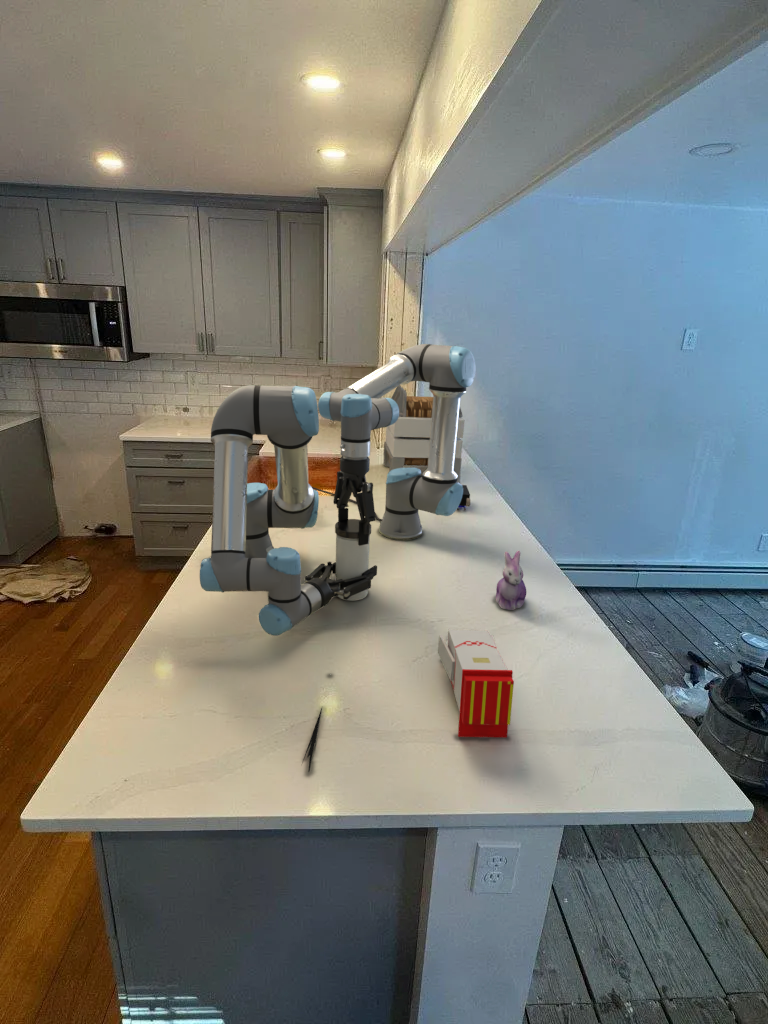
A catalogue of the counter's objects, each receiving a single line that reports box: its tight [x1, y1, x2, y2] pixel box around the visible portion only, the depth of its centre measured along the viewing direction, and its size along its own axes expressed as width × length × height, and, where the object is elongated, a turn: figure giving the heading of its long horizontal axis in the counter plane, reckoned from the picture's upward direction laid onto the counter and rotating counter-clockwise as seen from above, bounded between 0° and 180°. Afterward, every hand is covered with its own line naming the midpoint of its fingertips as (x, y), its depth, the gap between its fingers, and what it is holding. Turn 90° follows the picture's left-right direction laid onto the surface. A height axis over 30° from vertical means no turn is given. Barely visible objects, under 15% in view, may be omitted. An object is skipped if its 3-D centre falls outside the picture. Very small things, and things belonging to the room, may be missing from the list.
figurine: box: [495, 550, 527, 611], centre depth 153 cm, size 9×10×15 cm
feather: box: [301, 673, 332, 771], centre depth 108 cm, size 2×28×2 cm
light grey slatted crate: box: [383, 384, 465, 483], centre depth 268 cm, size 34×33×41 cm
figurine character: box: [456, 484, 471, 512], centre depth 229 cm, size 7×8×15 cm
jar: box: [335, 533, 371, 601], centre depth 154 cm, size 9×9×19 cm
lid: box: [334, 518, 372, 539], centre depth 151 cm, size 10×10×2 cm
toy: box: [437, 628, 515, 738], centre depth 117 cm, size 12×13×30 cm
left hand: (361, 565), depth 159 cm, fingers closed on jar, 9 cm apart
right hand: (352, 537), depth 152 cm, fingers closed on lid, 10 cm apart
